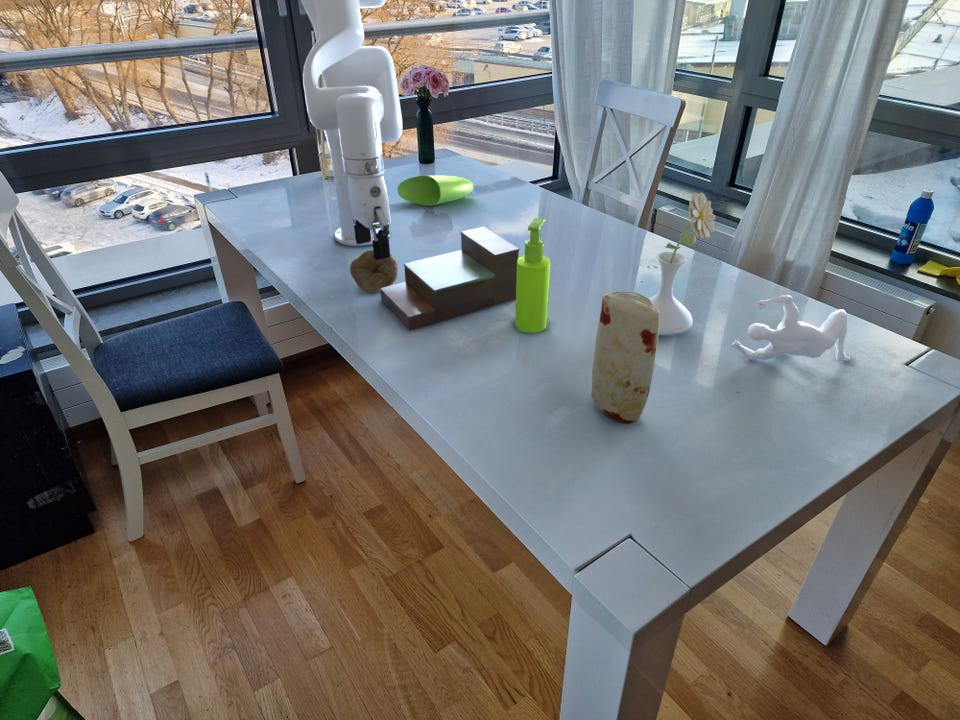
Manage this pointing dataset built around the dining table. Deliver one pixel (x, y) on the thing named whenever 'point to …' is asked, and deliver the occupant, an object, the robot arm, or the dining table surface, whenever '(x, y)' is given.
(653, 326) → the food model
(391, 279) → the fossil
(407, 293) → the step shelf
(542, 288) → the soap dispenser
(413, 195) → the green rounded oblong
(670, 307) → the flower in vase
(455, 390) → the dining table surface
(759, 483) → the dining table surface
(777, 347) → the person figurine
